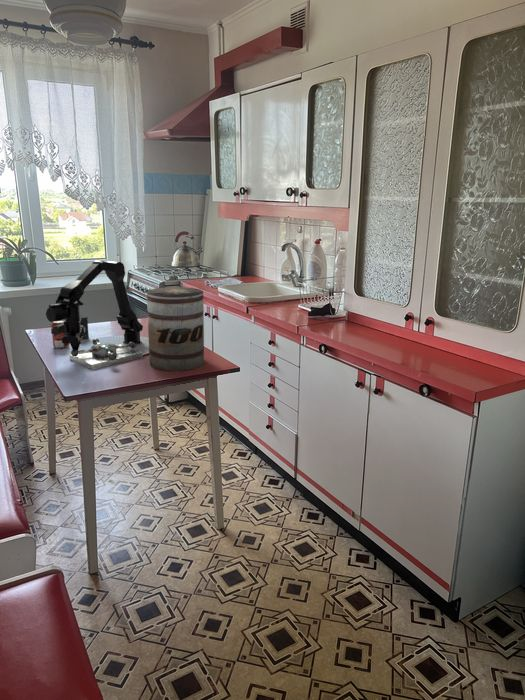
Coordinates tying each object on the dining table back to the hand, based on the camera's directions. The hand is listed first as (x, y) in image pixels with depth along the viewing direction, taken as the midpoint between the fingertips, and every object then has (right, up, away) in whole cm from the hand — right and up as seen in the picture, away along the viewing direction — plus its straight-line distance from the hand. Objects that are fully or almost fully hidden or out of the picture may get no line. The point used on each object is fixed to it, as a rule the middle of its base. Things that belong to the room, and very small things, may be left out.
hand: (75, 353), depth 219 cm
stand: (+11, -2, +5) cm, 13 cm away
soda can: (-13, +3, +19) cm, 23 cm away
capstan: (+11, 0, +4) cm, 11 cm away
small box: (-12, +8, +35) cm, 37 cm away
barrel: (+42, -4, +2) cm, 42 cm away
